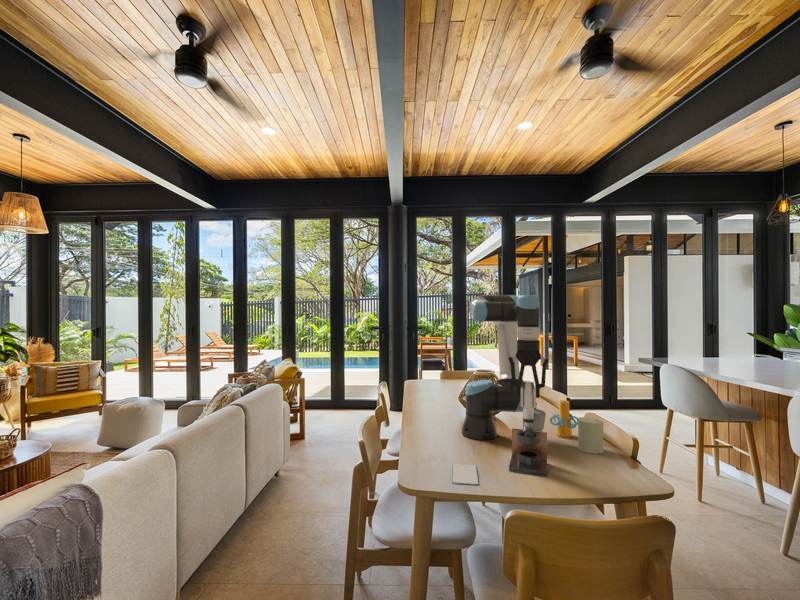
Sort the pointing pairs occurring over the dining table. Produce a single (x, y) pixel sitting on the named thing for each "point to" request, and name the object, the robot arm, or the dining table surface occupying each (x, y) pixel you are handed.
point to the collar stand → (529, 453)
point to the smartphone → (464, 474)
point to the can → (590, 435)
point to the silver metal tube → (528, 409)
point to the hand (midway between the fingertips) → (528, 406)
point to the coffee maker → (539, 419)
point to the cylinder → (564, 420)
